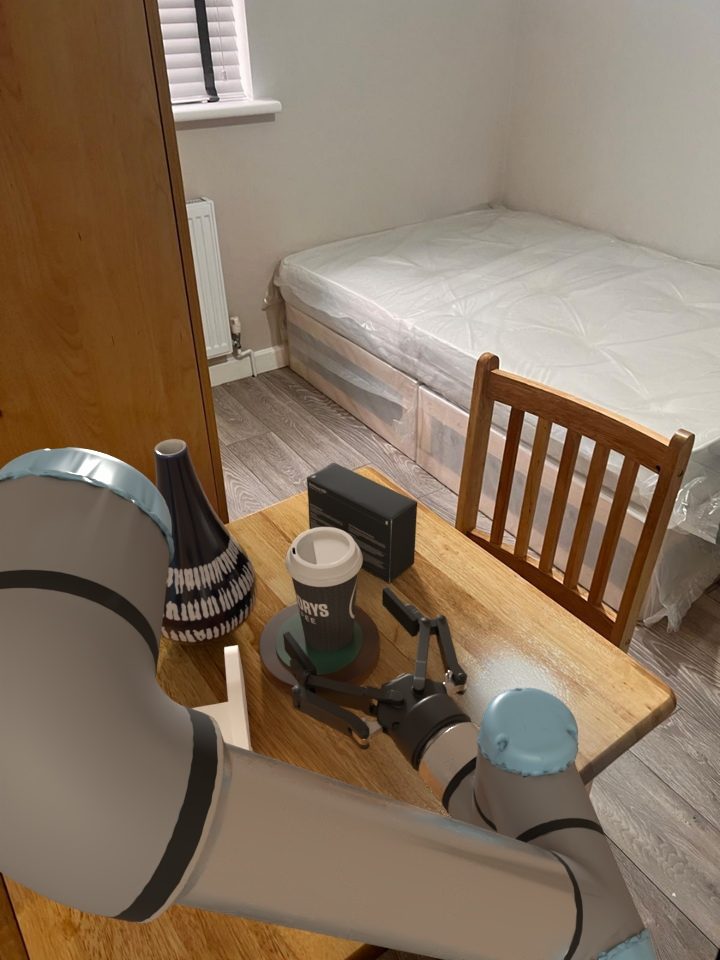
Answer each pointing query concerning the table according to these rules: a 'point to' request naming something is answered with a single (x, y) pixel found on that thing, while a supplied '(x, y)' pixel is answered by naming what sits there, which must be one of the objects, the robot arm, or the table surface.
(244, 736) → the white stand
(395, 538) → the box
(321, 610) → the coffee cup
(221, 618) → the vase
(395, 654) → the table surface
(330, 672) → the paper towel holder
